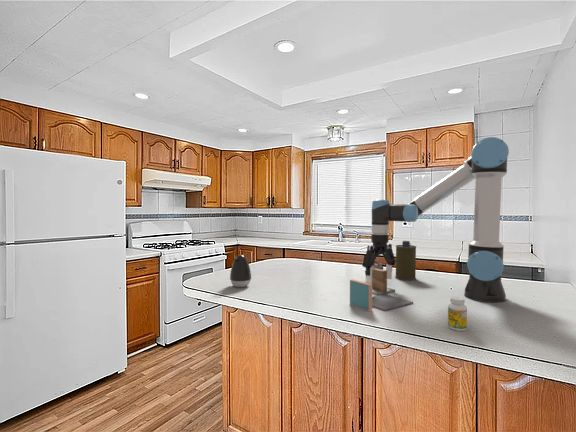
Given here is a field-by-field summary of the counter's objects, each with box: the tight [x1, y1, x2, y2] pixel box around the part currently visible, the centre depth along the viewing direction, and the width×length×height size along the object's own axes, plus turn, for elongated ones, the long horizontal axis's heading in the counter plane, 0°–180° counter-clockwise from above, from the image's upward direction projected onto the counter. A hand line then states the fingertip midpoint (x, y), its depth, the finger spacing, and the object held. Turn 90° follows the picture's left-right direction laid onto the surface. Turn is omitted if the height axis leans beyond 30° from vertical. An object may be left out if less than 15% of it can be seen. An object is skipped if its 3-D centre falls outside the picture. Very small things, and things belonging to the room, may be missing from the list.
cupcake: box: [364, 260, 384, 276], centre depth 172 cm, size 10×10×10 cm
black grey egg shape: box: [229, 254, 252, 288], centre depth 159 cm, size 10×10×15 cm
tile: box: [349, 278, 373, 312], centre depth 126 cm, size 10×2×10 cm, turn 35°
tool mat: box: [372, 293, 414, 312], centre depth 133 cm, size 14×17×1 cm
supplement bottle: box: [447, 296, 468, 332], centre depth 106 cm, size 5×5×10 cm
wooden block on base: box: [371, 268, 396, 296], centre depth 150 cm, size 12×8×10 cm, turn 125°
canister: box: [394, 240, 417, 281], centre depth 177 cm, size 11×10×20 cm
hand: (379, 280), depth 150 cm, fingers open, 13 cm apart
